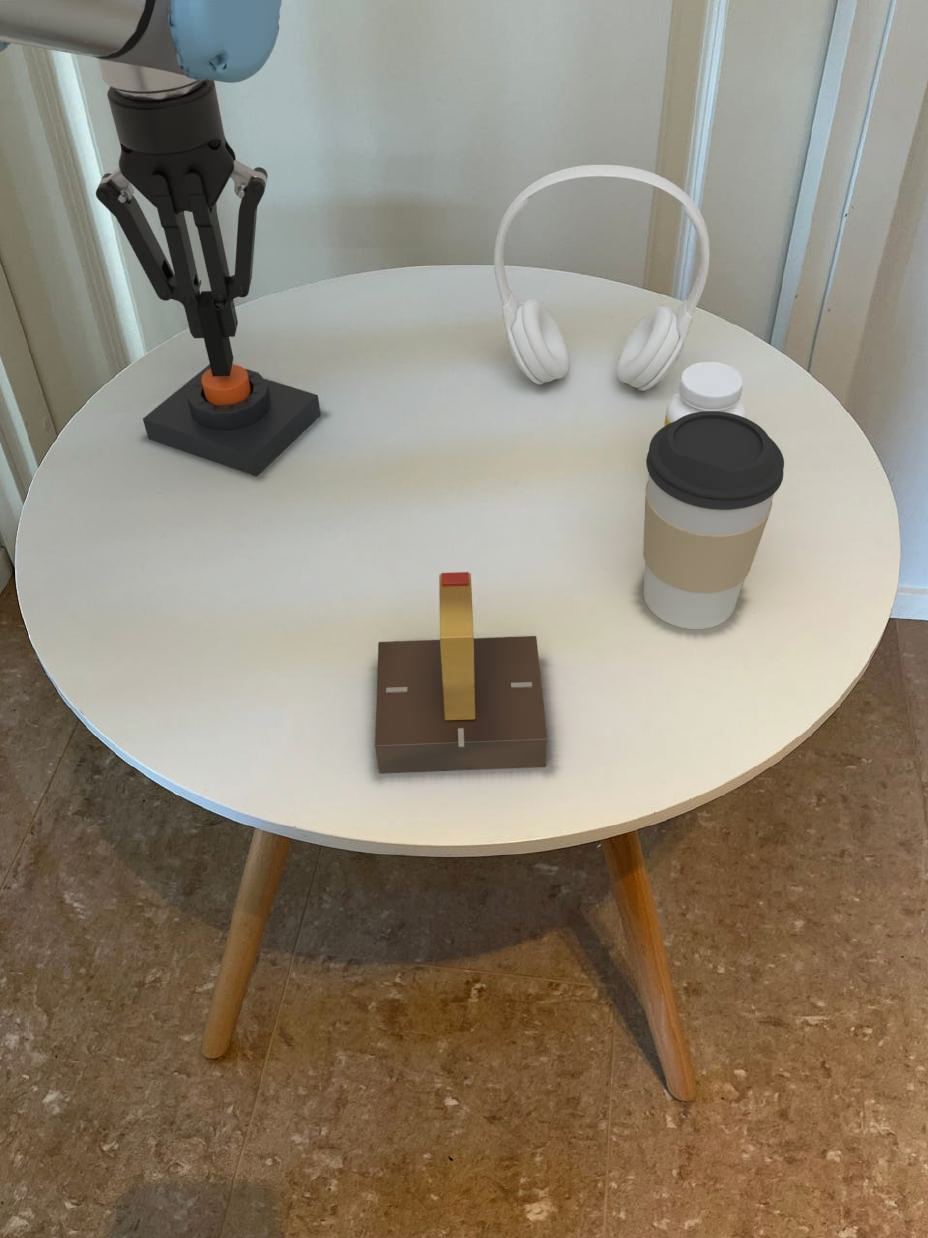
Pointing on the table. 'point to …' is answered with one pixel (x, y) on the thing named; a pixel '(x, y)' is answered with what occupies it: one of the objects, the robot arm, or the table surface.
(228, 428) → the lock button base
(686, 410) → the pill bottle
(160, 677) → the table surface
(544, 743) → the plate
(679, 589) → the coffee cup
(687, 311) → the headphones
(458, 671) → the lock knob
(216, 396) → the button
